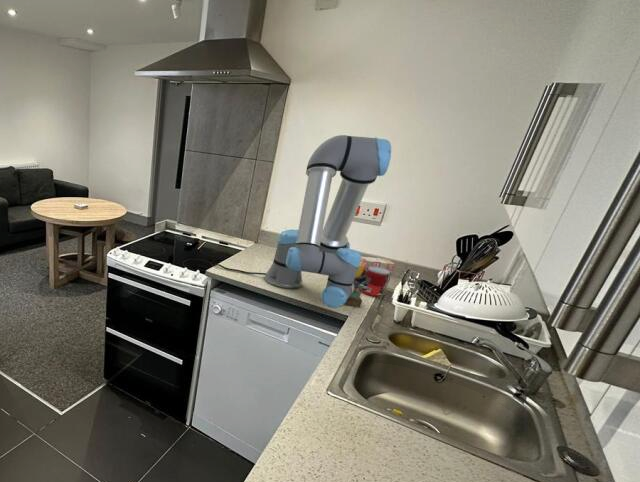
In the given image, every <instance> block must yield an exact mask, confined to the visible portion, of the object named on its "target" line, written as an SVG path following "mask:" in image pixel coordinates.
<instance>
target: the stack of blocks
mask: <svg viewBox="0 0 640 482" xmlns="http://www.w3.org/2000/svg"><path fill="white" fill-rule="evenodd" d="M360 263H361V264H362V265H363V266H364V268H363V271H362V273H363V272H364V270H365V271H366V273H367V270H368V268H369V267H379V268H383V269H386V270H388V271H389V272H390V274H389V277H388V279H387V282H386V285H385V287H384V290H387V287H388V285H389V283H390V280H391V277H392V276H393V272H394V269H395V267H396V263H394V262H393V261H392V260H389V259H386V258H381V257H371V256H370V257H369V256H368V257H367V256H361V260H360ZM365 275H366V274H365ZM361 284H362V283H361Z"/></svg>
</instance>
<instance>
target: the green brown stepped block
mask: <svg viewBox="0 0 640 482" xmlns="http://www.w3.org/2000/svg"><path fill="white" fill-rule="evenodd" d="M361 294H362V292H361V289H360V288H357V289H356V290H354V292H353V293H352V294H351V295H350V297H349V298H348V299H347V301H346V303H345V304H343V305H342V306H349V307H355V308H361V306H362V302H363V299H362V298H361Z"/></svg>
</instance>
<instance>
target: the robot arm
mask: <svg viewBox="0 0 640 482" xmlns="http://www.w3.org/2000/svg"><path fill="white" fill-rule="evenodd" d="M391 158H392V144H391V142H390V141H389V139H385V138H378V137H367V136H353V135H346V134H341V135H334V136H332V137H331V138H328V139H326V140H325V141H323V142H322V143H321V144H320V145H319V146H318V147H317V148H316V149H315V150H314V151H313V153H312V154H311V156H310V158H309V160H308V162H307V165H306V171H305V174H306V176H307V182H306V186H305V187H306V189H305V193H304V198H303V202H302V203H303V204H302V209H301V213H300V220H299V225H298V229H285V230H283V231H282V232H281V233H280V234H279V237H278V240H277V245H276V249H275V253H274V256H273V260H272V261H273V262H272V264H271V265H270V267H269V269H268V270H267V272H253V271H245V270H242V269H236V268H231V267H230V268H229V267H226V266H224V265H222V264H220V263H215V264H212V267H217V266H218V267H220V268H222V269H224V270H227V271H232V272H233V271H234V272H238V273H243V274H247V275H261V276H264V280H265V281H266V282H267V283H268V284H270V285H272V286H275V287H278V288H282V289H290V290H295V289H299V288H301V286H302V284H303V277H302V276H303V275H302V272H305V273H312V274H318V275H322V276H328V277H327V279H326V280H327V282H326V285H325V288H324V289H323V290H322V291H321V295H320V299H321V301H322V303H323V304H324V305H325V306H327V307H328V308H332V309H337V308H340V307H342V306H344V305H343V304H345V303H346V301H347V299H348V298H349V297H350V295H351V294H352V293H353V292H354V290H355V289H357V288H358V289H360V290H361V289H362V290H365V291H366V289H367V286H368V285H369V283H370V280H371V278H370V277H368V278H367V275H365V274H366V271H365V270H364V272H363V273H362V274H361V276H360V277H357V278H356V277H355V276H356V273H357V270H358V268H359V264H360V260H361V257H362V255H361V253H360V252H359V251H357V250H355V249H352V248H351V244H350V242H349V239H348V237H347V234H348V232H349V229H350V228H351V225H352V224H353V221H354V218H355V216H356V213H357V211H358V209H359V207H360V204H361V202H362V200H363V198H364V196H365V193H366V191H367V188H368V186H369V185H371V184H374V183H375V182H376V180H377V177H382V176H385V174H387V172H388V169H389V166H390V164H391V163H390V162H391ZM337 172H339V176H340V178H341V182H340V185H339V187H338V191H337V192H336V195H335V197H334V201H333V203H332V205H331V208H330V211H329V213H328V216H327V218H326V214H327V207H328V203H329V198H330V197H329V196H330V192H331V187H332V186H331V185H332V180H333V178H334V177H335V176H337ZM325 219H326V221H325ZM361 283H362V284H361Z"/></svg>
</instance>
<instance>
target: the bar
mask: <svg viewBox="0 0 640 482" xmlns="http://www.w3.org/2000/svg"><path fill="white" fill-rule="evenodd" d="M363 268H364V266H363V265H362V264H361V263H360V264H359V268H358V270H357V273H356V276H355V277H356V278H357V277H360V276H361V274H362V271H363ZM355 290H356V289H355Z"/></svg>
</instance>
